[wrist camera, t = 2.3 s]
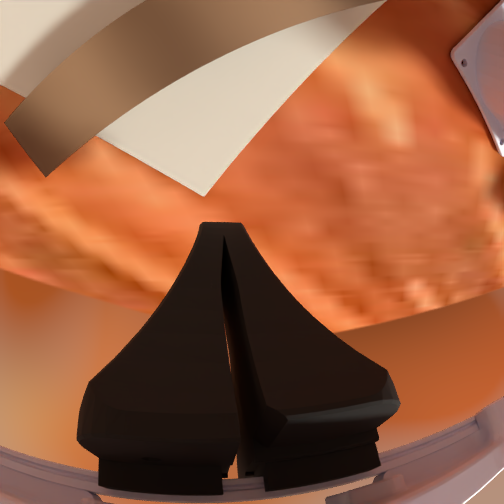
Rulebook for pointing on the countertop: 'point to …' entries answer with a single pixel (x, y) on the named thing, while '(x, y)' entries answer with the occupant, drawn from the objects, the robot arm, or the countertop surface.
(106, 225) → the countertop surface
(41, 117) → the hinged leg
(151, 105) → the white block puzzle board
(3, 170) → the countertop surface
